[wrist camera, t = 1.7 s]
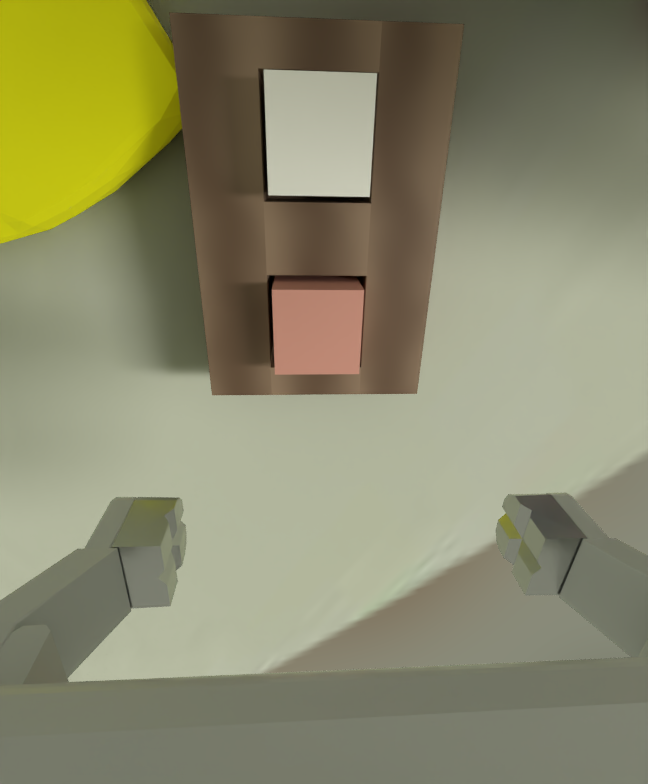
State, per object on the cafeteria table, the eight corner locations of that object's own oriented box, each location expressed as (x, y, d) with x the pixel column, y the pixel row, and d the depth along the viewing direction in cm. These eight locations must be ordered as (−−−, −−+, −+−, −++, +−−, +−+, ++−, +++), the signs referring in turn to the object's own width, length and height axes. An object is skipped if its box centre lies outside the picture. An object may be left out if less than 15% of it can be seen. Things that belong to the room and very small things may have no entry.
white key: (365, 89, 23) (376, 73, 20) (359, 194, 26) (369, 197, 22) (269, 86, 23) (263, 69, 19) (272, 192, 25) (268, 195, 22)
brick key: (355, 275, 28) (364, 290, 24) (352, 350, 30) (359, 374, 27) (275, 275, 27) (271, 289, 24) (277, 350, 30) (274, 374, 26)
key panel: (435, 51, 25) (464, 24, 21) (401, 365, 34) (417, 393, 30) (193, 42, 24) (169, 12, 20) (223, 365, 33) (212, 395, 29)
